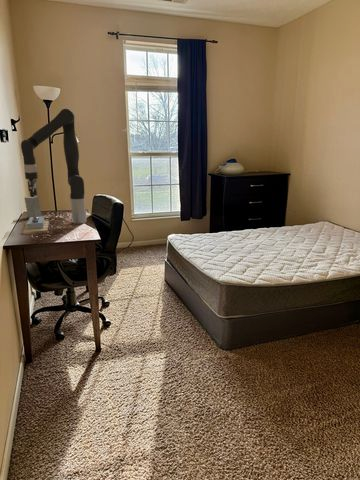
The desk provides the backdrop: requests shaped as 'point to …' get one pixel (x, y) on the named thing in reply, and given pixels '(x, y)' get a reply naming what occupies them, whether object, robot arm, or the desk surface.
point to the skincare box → (33, 206)
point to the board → (35, 231)
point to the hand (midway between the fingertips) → (33, 196)
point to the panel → (36, 225)
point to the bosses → (35, 219)
